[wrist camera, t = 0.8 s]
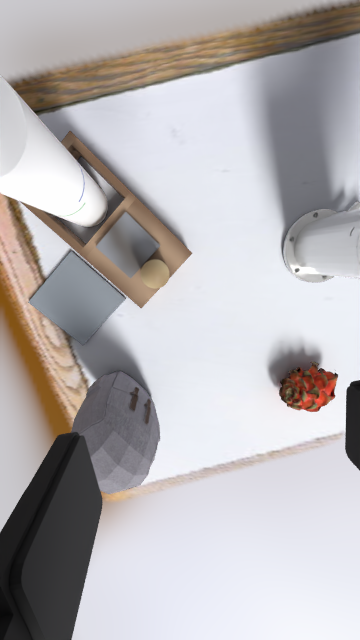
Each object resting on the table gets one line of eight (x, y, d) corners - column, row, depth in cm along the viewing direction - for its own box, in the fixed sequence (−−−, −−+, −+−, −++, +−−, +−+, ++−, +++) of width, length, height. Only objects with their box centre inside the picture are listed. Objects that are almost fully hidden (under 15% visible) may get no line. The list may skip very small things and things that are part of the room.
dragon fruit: (263, 383, 53) (311, 360, 54) (285, 422, 49) (336, 397, 51) (276, 376, 45) (332, 350, 46) (303, 422, 42) (362, 393, 43)
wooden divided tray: (79, 143, 38) (51, 104, 29) (189, 253, 44) (197, 252, 34) (31, 204, 40) (-11, 187, 30) (143, 304, 45) (137, 316, 35)
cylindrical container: (114, 193, 40) (40, 93, 16) (99, 234, 42) (10, 199, 18) (72, 172, 39) (-75, 31, 15) (57, 215, 41) (-98, 150, 16)
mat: (72, 251, 42) (71, 251, 42) (125, 298, 45) (125, 298, 44) (29, 301, 44) (28, 302, 43) (84, 344, 46) (83, 345, 46)
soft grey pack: (89, 377, 48) (39, 458, 29) (120, 351, 47) (90, 415, 28) (141, 426, 51) (128, 528, 32) (171, 402, 50) (176, 492, 31)
